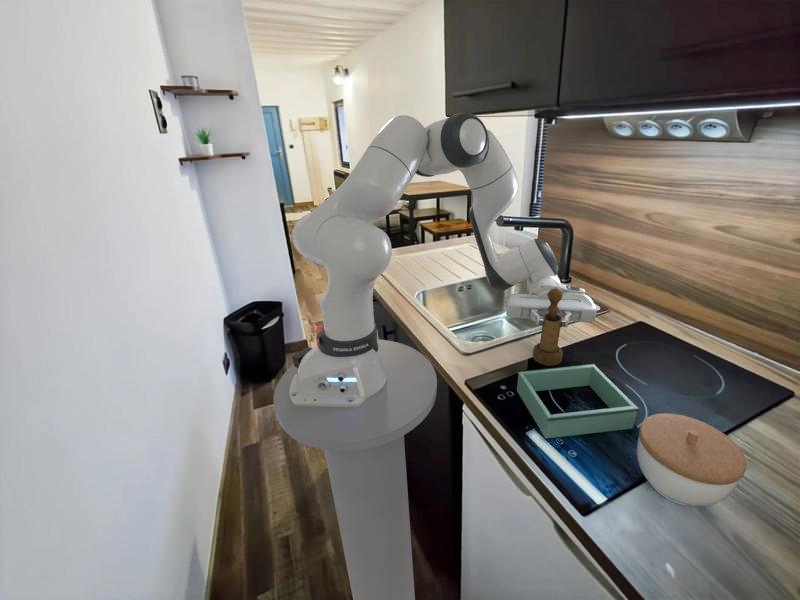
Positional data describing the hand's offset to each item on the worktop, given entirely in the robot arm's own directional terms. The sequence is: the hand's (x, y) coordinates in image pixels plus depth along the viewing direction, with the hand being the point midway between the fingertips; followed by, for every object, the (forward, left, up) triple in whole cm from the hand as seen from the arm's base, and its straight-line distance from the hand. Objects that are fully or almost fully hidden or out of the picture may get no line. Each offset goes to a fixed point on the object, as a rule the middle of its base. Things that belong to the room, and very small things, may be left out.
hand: (552, 323), depth 82 cm
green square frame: (-2, -14, -12) cm, 19 cm away
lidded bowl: (+5, -33, -12) cm, 36 cm away
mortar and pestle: (0, +1, -10) cm, 10 cm away
